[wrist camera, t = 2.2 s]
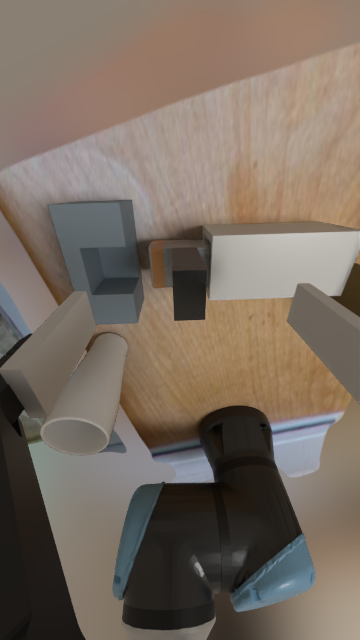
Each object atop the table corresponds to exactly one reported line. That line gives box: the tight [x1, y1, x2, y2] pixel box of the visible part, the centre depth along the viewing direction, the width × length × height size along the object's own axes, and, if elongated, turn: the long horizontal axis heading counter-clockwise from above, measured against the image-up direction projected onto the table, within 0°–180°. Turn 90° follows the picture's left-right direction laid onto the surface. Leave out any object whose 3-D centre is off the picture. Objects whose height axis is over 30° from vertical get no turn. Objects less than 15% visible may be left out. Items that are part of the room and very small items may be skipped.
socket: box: [48, 200, 144, 325], centre depth 24 cm, size 12×6×7 cm, turn 1°
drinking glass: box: [40, 333, 128, 455], centre depth 27 cm, size 7×7×15 cm
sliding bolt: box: [148, 239, 211, 321], centre depth 20 cm, size 4×18×11 cm, turn 91°
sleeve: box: [202, 222, 360, 301], centre depth 24 cm, size 6×14×7 cm, turn 91°
